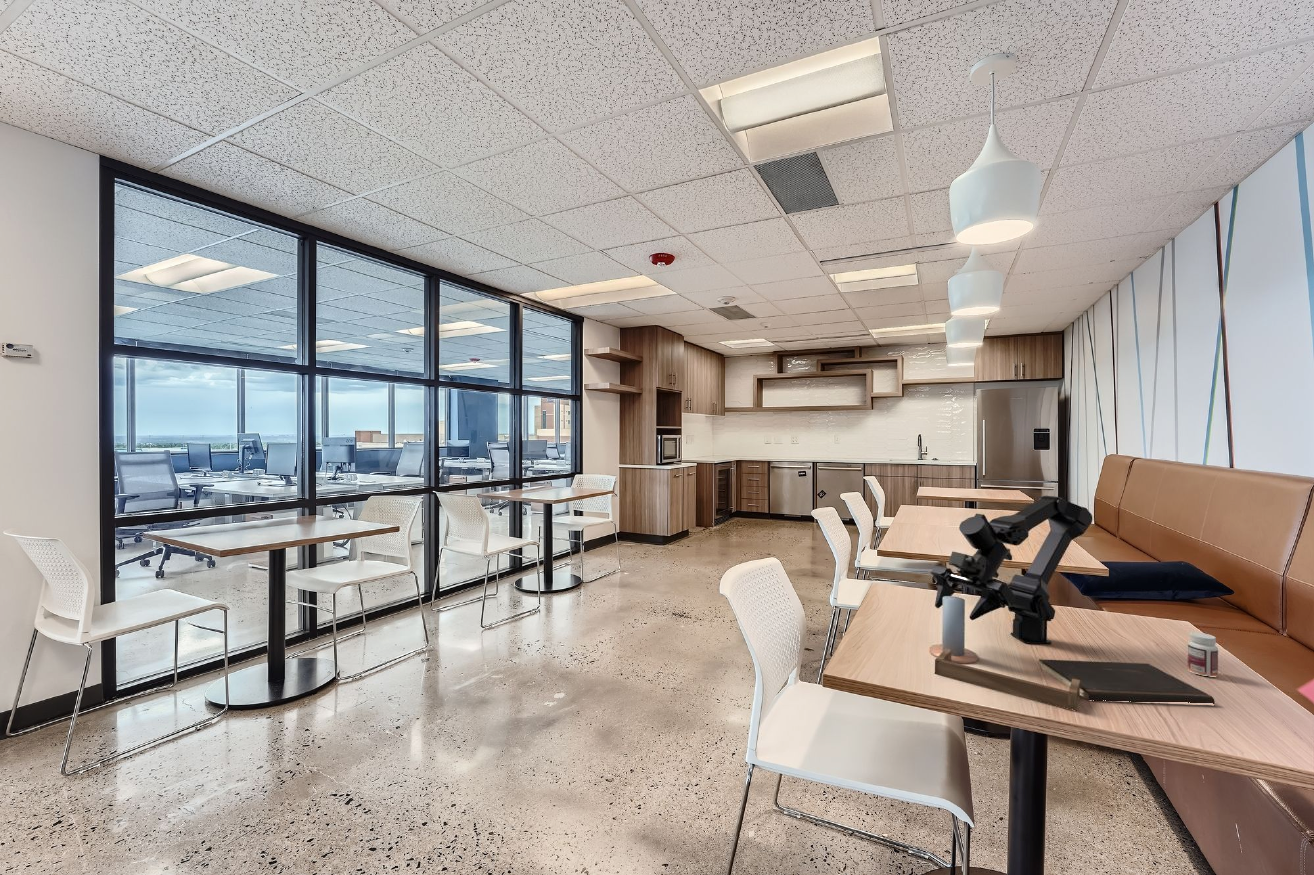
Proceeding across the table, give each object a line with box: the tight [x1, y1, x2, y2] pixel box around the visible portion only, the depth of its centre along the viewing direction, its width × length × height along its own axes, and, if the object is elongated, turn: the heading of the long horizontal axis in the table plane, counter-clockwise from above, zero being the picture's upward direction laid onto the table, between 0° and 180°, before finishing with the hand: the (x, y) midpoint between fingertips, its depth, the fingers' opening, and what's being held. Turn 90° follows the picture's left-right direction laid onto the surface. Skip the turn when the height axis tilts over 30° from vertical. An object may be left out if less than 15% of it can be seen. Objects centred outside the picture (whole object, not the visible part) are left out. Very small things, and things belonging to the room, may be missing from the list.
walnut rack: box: [934, 649, 1080, 711], centre depth 116 cm, size 9×24×3 cm, turn 49°
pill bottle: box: [1187, 632, 1219, 677], centre depth 123 cm, size 5×5×8 cm
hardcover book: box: [1038, 658, 1215, 704], centre depth 116 cm, size 16×23×2 cm
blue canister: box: [941, 595, 966, 656], centre depth 131 cm, size 5×5×12 cm
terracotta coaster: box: [928, 643, 979, 665], centre depth 131 cm, size 10×10×1 cm
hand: (953, 612), depth 131 cm, fingers open, 9 cm apart
